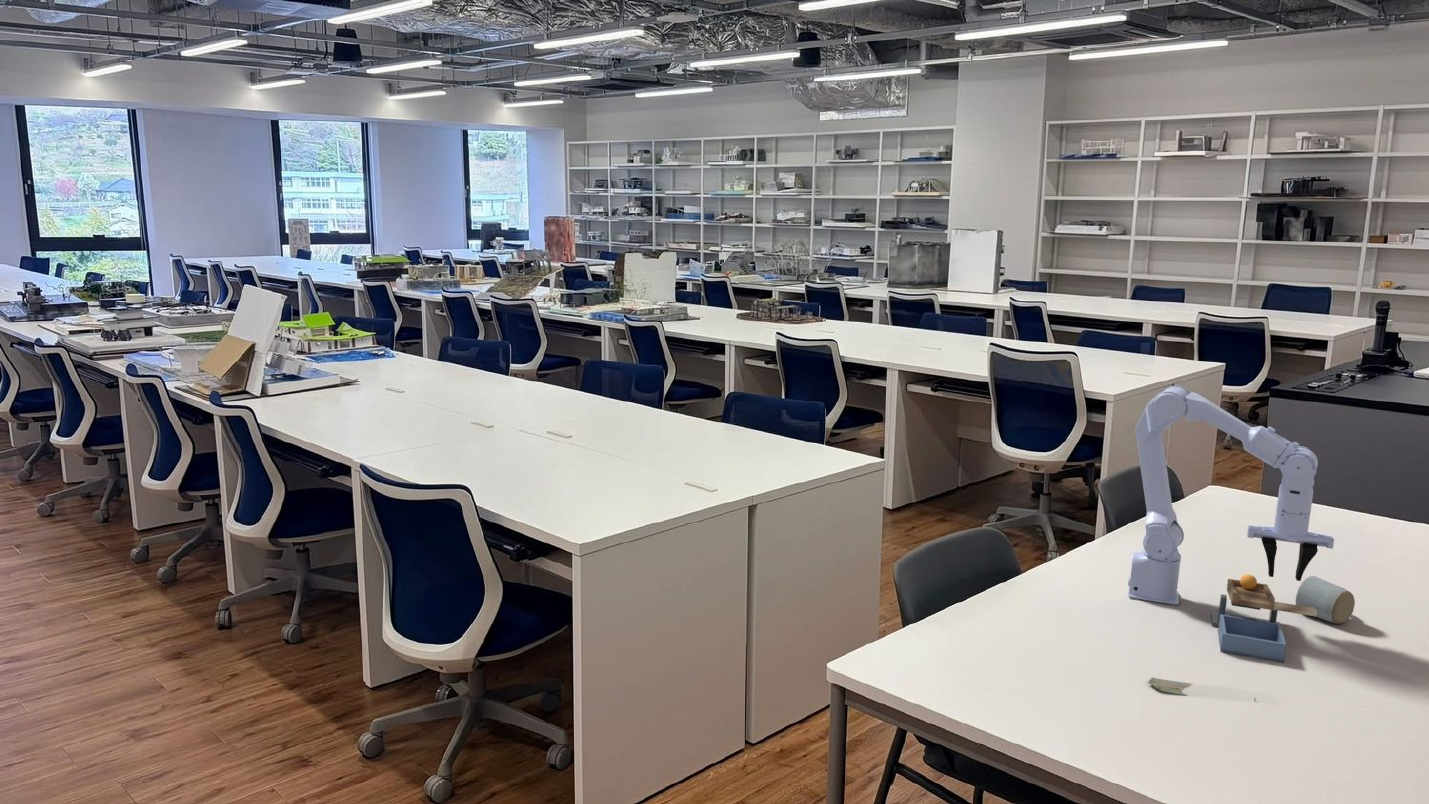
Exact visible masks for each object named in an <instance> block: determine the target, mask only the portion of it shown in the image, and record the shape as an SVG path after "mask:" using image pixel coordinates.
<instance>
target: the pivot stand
mask: <svg viewBox="0 0 1429 804" xmlns="http://www.w3.org/2000/svg"><path fill="white" fill-rule="evenodd" d="M1227 603H1228V596H1227V594H1223V593H1221V594H1220V598H1219V606H1218V611H1211V612H1210V614H1211V615H1210V618H1211V626H1212V627H1217V628H1218V627H1219V619H1220V614H1222V615H1228V616H1234V617H1241V618H1247V619H1253V620H1259V621H1265V622H1271V623H1278V624H1281V623H1280V621H1277V619H1278V618H1277V617H1278V610H1269V617H1268V619H1262V618H1255V617H1249V616H1243V615H1236V614H1230V613H1226V610H1227Z"/></svg>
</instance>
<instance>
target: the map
mask: <svg viewBox="0 0 1429 804" xmlns="http://www.w3.org/2000/svg"><path fill="white" fill-rule="evenodd" d="M1147 683H1148V684H1149V685H1152V686H1153V687H1154V688H1155V689H1157V690H1159V691H1162V692H1166V693H1170V694H1177V695H1181V696H1186V697H1189V695H1188V694H1186V693H1185V692H1184V689H1185V690H1186V689H1188V688H1190V686H1192V683H1188V682H1183V681H1182V682H1181V681H1175V680H1169V679H1163V678H1156V677H1150V678H1149V680H1148V681H1147ZM1206 695H1207V696H1208V694H1206ZM1253 701H1254V702H1256V697H1254V700H1253Z"/></svg>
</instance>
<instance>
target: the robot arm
mask: <svg viewBox="0 0 1429 804" xmlns="http://www.w3.org/2000/svg"><path fill="white" fill-rule="evenodd" d="M1145 406H1146V407H1145V408H1144V410H1143V413H1142V414H1141V416H1140V418H1139V420H1138V422H1137V424H1136V425H1135V428H1134V429H1135V437H1136V444H1137V451H1138V452H1137V453H1138V460H1139V466H1140V472H1141V473H1140V474H1141V481H1142V486H1143V494H1144V501H1145V508H1146V509H1145V510H1146V517H1145V518H1146V519H1145V523H1144V524H1145V535H1144V537H1143V539H1142V545H1143V551H1141V552H1140V551H1133V552H1132V561H1131V568H1130V576H1129V577H1128V579H1127V580H1128V581H1127V582H1128V583H1127V586H1129V588H1128V589H1129V590H1128V598H1132V599H1136V600H1137V599H1138V600H1142V601H1149V602H1154V603H1155V602H1156V603H1163V604H1167V605H1168V604H1169V605H1175V606H1178V605H1179V603H1180V602H1179V591H1178V587H1179V586H1178V584H1179V578H1180V577H1179V576H1180V567H1181V562H1182V561H1181V559H1182V555H1181V553H1180V552H1179V549H1178V547H1179V546H1180V545H1182V543H1183V541H1184V538H1185V536H1184V535H1185V533H1184V530H1183V528H1182V526H1181V524H1179V522H1178V519H1177V514H1176V512H1175V510H1174V507H1173V502H1172V494H1171V489H1170V481H1169V473H1168V468H1167V467H1168V466H1167V459H1166V453H1165V452H1166V451H1165V446H1164V438H1163V434H1164V432H1165V431H1166V430H1167V429H1168V428H1169V427H1170V426H1171V425H1173V424H1174V423H1176V422H1178V421H1179V420H1181V418H1182V417H1183V416H1185V420H1184V421H1186V422H1191V421H1192V422H1194V421H1195V422H1196V421H1197V422H1199V421H1200V422H1201V421H1203V422H1205V423H1207V424H1209V425H1211V426H1212V427H1214V428H1216V429H1218V430H1220V431H1222V432H1224V433H1225V434H1228V435H1229V436H1232V437H1234V438H1235V439H1237V440H1239V441H1241V443H1242V446H1243V449H1244V451H1245V452H1247V453H1248V454H1250V455H1252V456H1254V457H1255V458H1257V459H1259V460H1260V461H1263V463H1265V464H1268V465H1269V466H1271V467H1272V468H1274V469H1280V472H1281V475H1282V477H1281V482H1280V483H1281V484H1280V485H1279V488H1278V496H1277V504H1276V511H1275V517H1274V526H1255V525H1247V531H1246V533H1247V534H1246V535H1247V538H1249V539H1254V538H1255V539H1256V538H1257V539H1260V540H1261V543H1262V546H1263V548H1264V552H1265V555H1266V560H1267V567H1268V569H1267V570H1268V572H1267V574H1268V577H1270V578H1274V575H1275V563H1276V562H1275V560H1276V555H1277V550H1278V546H1277V542H1278V541H1279V542H1286V543H1287V542H1288V543H1295V544H1299V551H1298V561H1297V566H1296V570H1295V579H1296V581H1298V582H1302V577H1303V575H1304V572H1305V571H1306V568H1307V567H1308V565H1309V564H1310V562H1311V561H1312V559H1313V558H1314V557H1315V556H1316V555H1317V554H1318V547H1323V548H1327V549H1329V550H1331V549H1334V543H1335V538H1334V537H1333V536H1332V535H1325V534H1319V533H1316V532H1311V531H1309V525H1310V518H1311V511H1312V504H1313V496H1314V488H1313V487H1314V485H1315V477H1316V474H1317V469H1318V465H1319V464H1318V463H1319V462H1318V457H1317V455H1316V454H1315V453H1314V452H1313V451H1312V450H1311V449H1310V448H1309V447H1306V446H1300V443H1298V442H1296V441H1293V442H1291V441H1289V440H1288V439H1286V438H1284V437H1283V436H1281V435H1279V434H1277V433H1276V430H1277V429H1276V428H1273V427H1272V426H1268V428H1266V427H1265V426H1263V425H1258V426H1250V425H1249V424H1247V423H1245V422H1244V421H1242V419H1239V418H1238V417H1236V416H1234V415H1233V414H1231V413H1229V412H1228V411H1226V410H1224V409H1223V408H1222V407H1219V406H1218V405H1217V404H1215V403H1213V402H1212V401H1210V400H1209V399H1208V398H1205V397H1204V396H1202V395H1201V394H1199V393H1196V392H1194V391H1190V390H1189V389H1187V388H1186V387H1184V386H1180V385H1171V386H1168V387H1167V388H1165V389H1164V390H1163V391H1161V392H1160V393H1158V394H1156V396H1154V397H1153V398H1152V399H1151V400H1149V402H1148V403H1146V405H1145Z"/></svg>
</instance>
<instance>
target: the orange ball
mask: <svg viewBox="0 0 1429 804" xmlns="http://www.w3.org/2000/svg"><path fill="white" fill-rule="evenodd" d="M1239 580H1240V584H1241V586H1242V587H1243V588H1245V589H1247V590H1251V589H1254V588H1255V587H1256V585H1257V583H1258V580H1257V578H1256V577H1255V576H1254V575H1252V574H1248V573H1247V574H1243V575H1242V576H1241V577H1240V579H1239Z"/></svg>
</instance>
